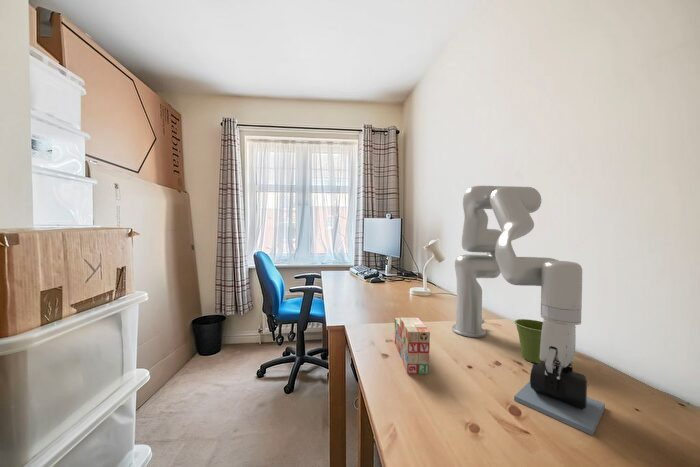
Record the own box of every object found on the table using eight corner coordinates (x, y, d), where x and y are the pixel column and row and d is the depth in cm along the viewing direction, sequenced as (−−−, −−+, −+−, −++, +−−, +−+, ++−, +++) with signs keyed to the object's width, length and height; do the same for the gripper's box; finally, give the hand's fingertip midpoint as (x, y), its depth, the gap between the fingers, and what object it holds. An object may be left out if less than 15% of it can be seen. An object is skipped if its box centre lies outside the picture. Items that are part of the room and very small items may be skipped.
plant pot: (565, 363, 82) (566, 327, 82) (548, 372, 76) (548, 334, 76) (524, 348, 93) (525, 316, 93) (506, 356, 86) (507, 321, 86)
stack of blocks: (394, 343, 95) (394, 309, 95) (411, 343, 95) (412, 309, 95) (407, 374, 74) (408, 330, 74) (429, 375, 74) (430, 331, 74)
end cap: (529, 395, 63) (530, 367, 63) (536, 384, 68) (537, 358, 68) (584, 417, 56) (585, 385, 56) (588, 402, 61) (588, 373, 61)
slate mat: (534, 380, 72) (534, 377, 72) (604, 407, 61) (604, 403, 61) (514, 400, 63) (514, 395, 63) (592, 435, 52) (592, 430, 52)
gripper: (551, 304, 71) (550, 369, 71) (528, 316, 60) (527, 393, 60) (589, 311, 65) (587, 382, 65) (571, 325, 54) (569, 411, 54)
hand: (558, 387), depth 62 cm, fingers open, 8 cm apart
